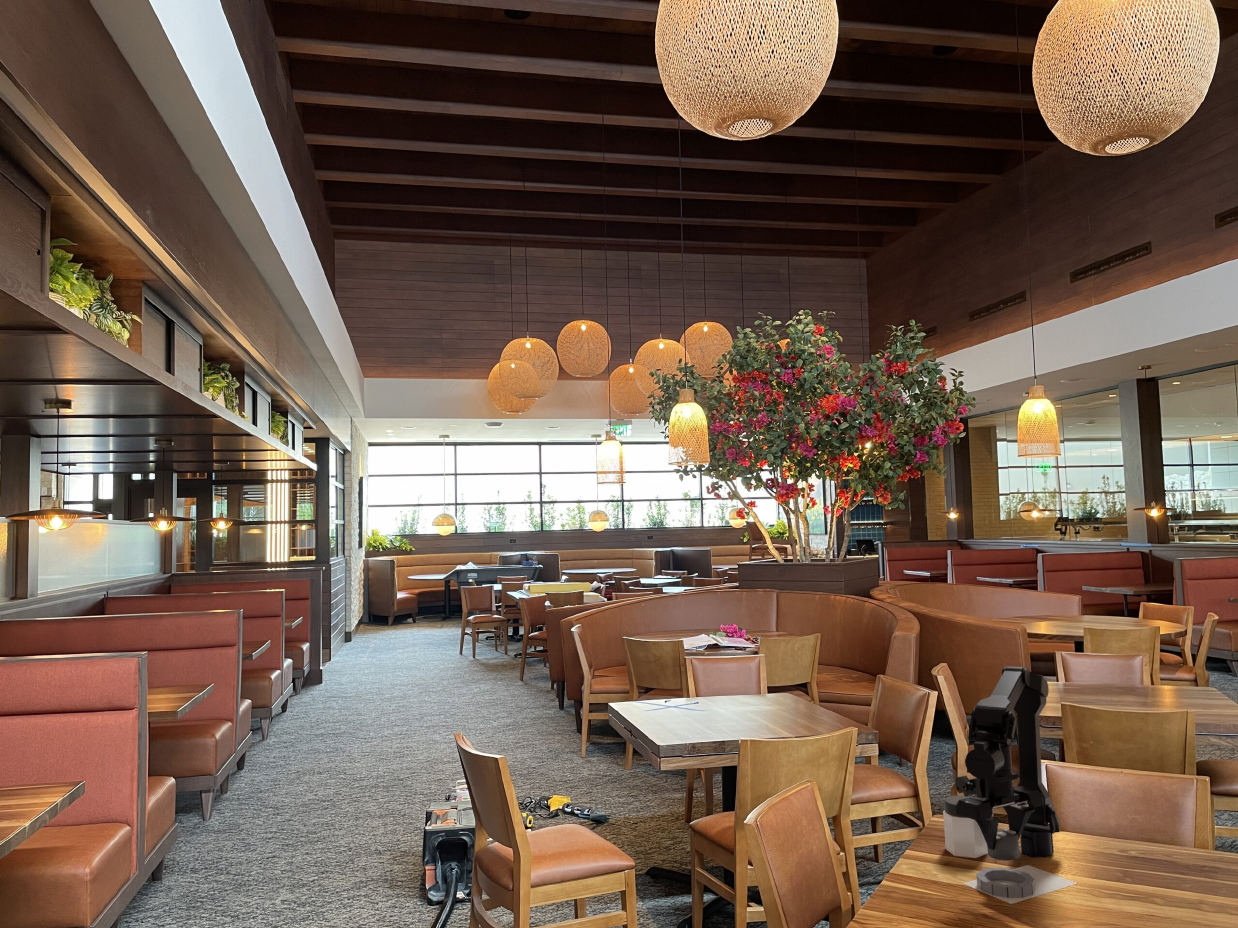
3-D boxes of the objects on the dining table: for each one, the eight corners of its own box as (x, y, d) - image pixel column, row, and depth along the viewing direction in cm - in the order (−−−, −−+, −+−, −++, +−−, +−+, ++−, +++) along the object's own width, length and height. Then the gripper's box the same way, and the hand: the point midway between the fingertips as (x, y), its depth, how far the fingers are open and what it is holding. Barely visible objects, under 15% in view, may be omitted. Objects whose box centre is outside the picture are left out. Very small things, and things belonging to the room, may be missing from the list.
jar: (970, 864, 196) (966, 808, 197) (939, 854, 202) (935, 800, 203) (995, 855, 200) (991, 800, 201) (963, 845, 207) (959, 792, 208)
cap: (1002, 846, 185) (1000, 825, 185) (1026, 855, 180) (1024, 833, 180) (981, 853, 182) (979, 832, 183) (1005, 862, 177) (1002, 840, 177)
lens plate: (1028, 869, 192) (1027, 855, 192) (1078, 888, 181) (1077, 872, 181) (963, 888, 183) (962, 872, 184) (1011, 908, 172) (1010, 892, 173)
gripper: (997, 752, 194) (1003, 826, 192) (933, 765, 185) (938, 843, 184) (1041, 763, 184) (1048, 841, 182) (975, 777, 175) (981, 859, 174)
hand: (1002, 846), depth 181 cm, fingers closed on cap, 6 cm apart
